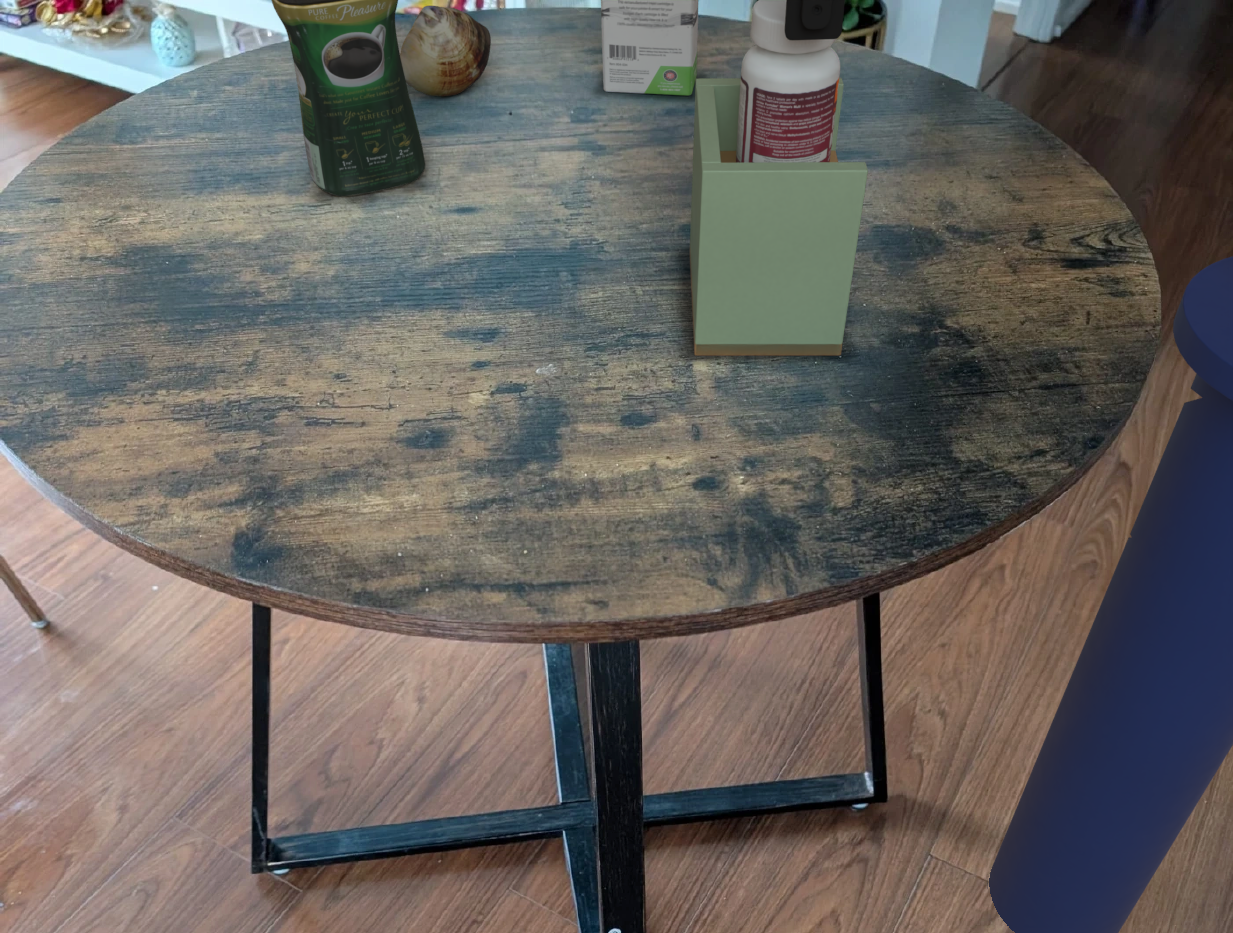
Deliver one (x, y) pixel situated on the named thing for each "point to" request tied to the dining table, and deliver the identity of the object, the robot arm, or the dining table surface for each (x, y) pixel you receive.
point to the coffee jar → (352, 94)
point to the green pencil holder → (768, 240)
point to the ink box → (649, 46)
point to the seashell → (444, 51)
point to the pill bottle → (785, 93)
